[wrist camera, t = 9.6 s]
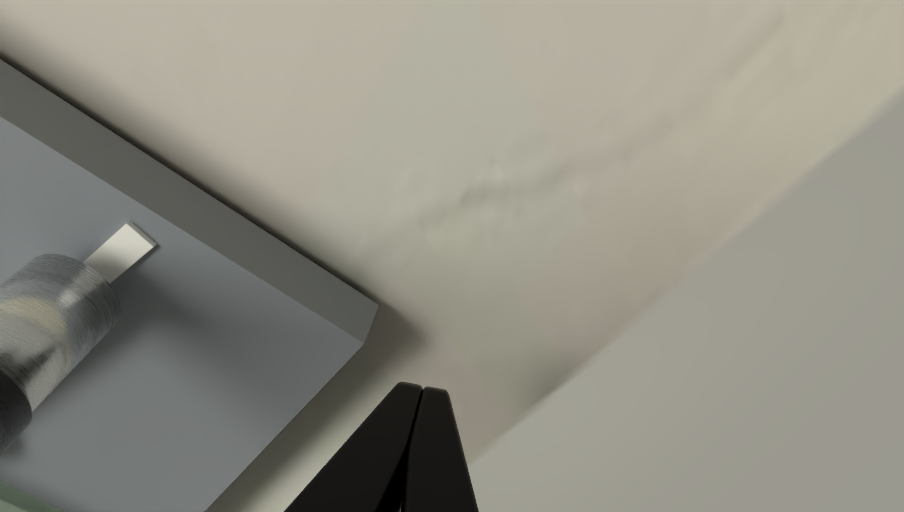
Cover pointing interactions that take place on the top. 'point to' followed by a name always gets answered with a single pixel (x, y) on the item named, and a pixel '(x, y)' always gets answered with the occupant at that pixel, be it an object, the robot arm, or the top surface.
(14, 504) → the tray
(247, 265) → the plate
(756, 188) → the top surface
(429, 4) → the top surface
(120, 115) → the top surface
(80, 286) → the crank
